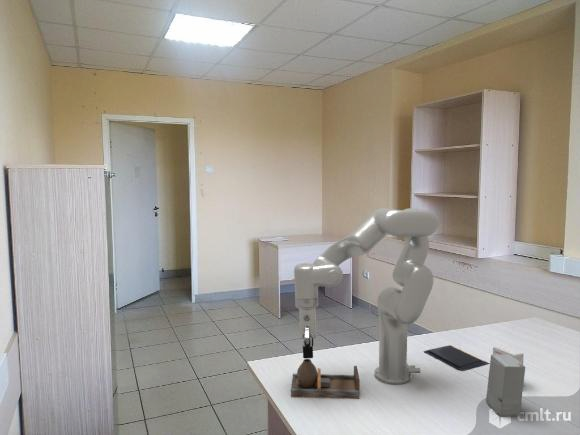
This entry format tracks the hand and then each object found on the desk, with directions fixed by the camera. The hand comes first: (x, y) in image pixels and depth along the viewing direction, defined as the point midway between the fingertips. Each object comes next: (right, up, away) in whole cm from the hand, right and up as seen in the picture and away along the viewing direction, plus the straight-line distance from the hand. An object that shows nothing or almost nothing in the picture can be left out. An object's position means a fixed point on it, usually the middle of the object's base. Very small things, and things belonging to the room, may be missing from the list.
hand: (308, 351), depth 144 cm
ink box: (+68, -12, +4) cm, 69 cm away
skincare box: (+59, -14, -13) cm, 62 cm away
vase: (0, -12, +1) cm, 12 cm away
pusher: (+5, -11, +1) cm, 13 cm away
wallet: (+58, -11, +24) cm, 64 cm away
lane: (+5, -13, +1) cm, 14 cm away
